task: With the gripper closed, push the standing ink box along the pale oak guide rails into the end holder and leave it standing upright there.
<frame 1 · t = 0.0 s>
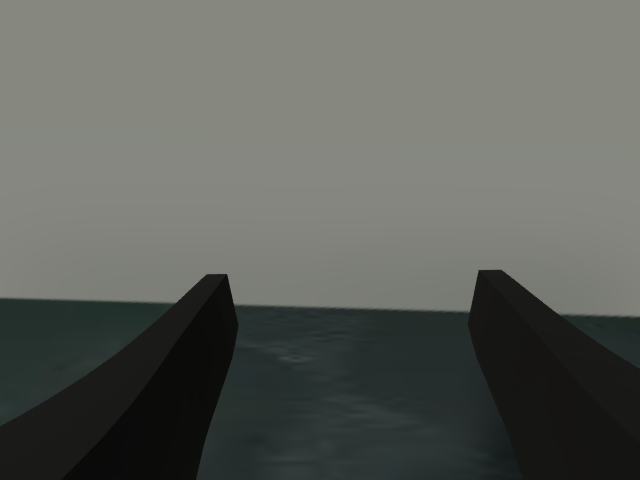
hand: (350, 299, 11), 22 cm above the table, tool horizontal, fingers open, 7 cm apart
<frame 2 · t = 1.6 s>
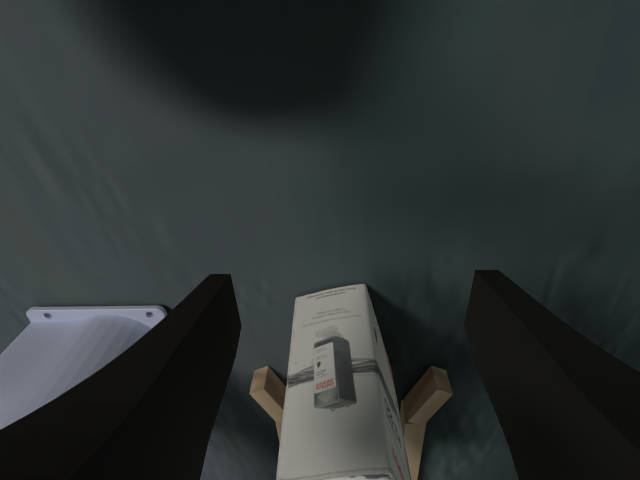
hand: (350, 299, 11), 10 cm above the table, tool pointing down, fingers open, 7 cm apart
end holder: (350, 456, 34), on the table
ink box: (348, 331, 27), on the table
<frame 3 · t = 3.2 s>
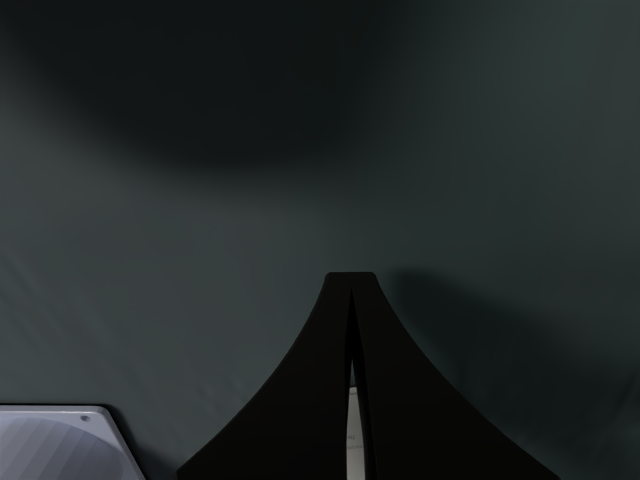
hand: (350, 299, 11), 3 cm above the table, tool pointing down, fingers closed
ink box: (351, 435, 20), on the table
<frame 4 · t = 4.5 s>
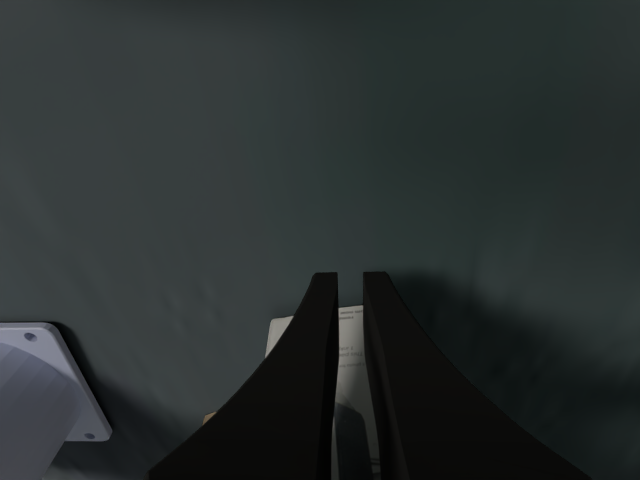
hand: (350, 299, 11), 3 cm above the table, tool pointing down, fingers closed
ink box: (348, 370, 18), on the table, touching gripper
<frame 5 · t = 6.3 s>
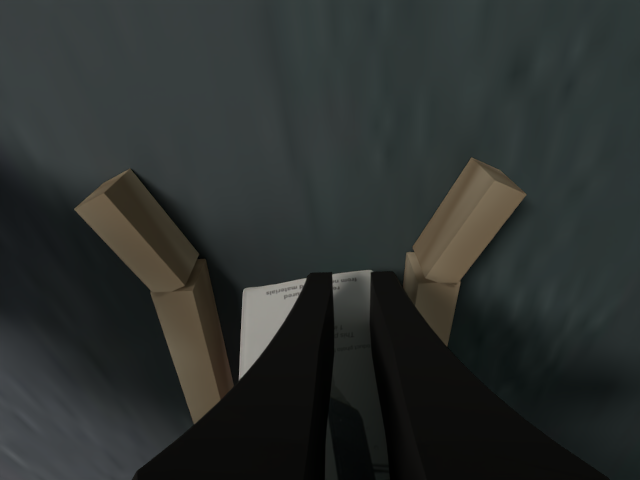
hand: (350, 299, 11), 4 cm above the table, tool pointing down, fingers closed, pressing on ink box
end holder: (313, 386, 20), on the table
ink box: (326, 329, 17), point 1 cm above the table, touching gripper
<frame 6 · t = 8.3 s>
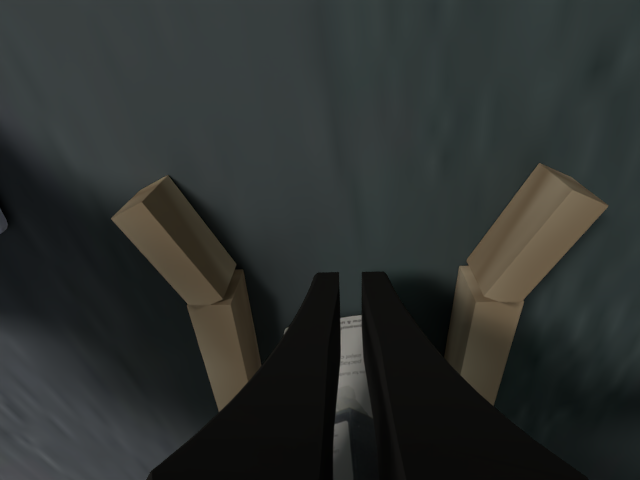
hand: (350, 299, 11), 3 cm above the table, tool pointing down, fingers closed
end holder: (351, 403, 19), on the table
ink box: (360, 378, 18), resting in end holder
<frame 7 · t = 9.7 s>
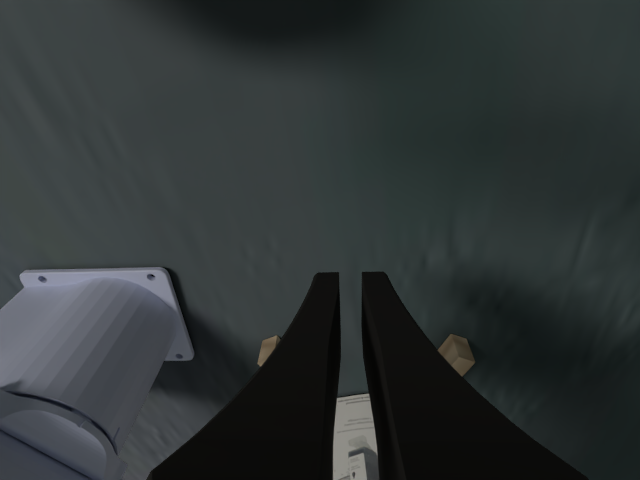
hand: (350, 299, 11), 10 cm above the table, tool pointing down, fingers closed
end holder: (362, 436, 33), on the table
ink box: (367, 422, 32), resting in end holder
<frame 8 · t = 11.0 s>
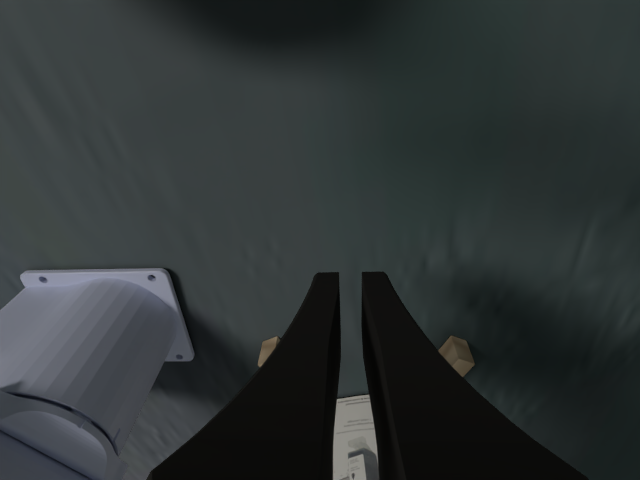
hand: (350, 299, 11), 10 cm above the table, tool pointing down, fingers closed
end holder: (361, 437, 33), on the table
ink box: (367, 423, 32), resting in end holder
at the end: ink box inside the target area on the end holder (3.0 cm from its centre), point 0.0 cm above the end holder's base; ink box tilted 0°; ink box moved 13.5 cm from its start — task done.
